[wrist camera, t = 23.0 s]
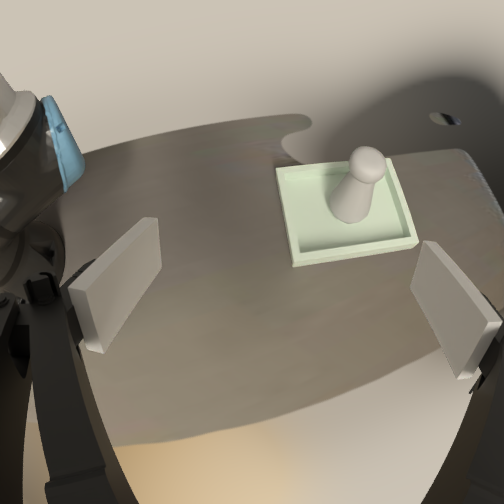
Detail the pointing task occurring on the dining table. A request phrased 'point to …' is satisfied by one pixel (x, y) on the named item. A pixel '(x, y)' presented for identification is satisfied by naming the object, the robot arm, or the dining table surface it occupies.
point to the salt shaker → (358, 185)
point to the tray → (333, 230)
